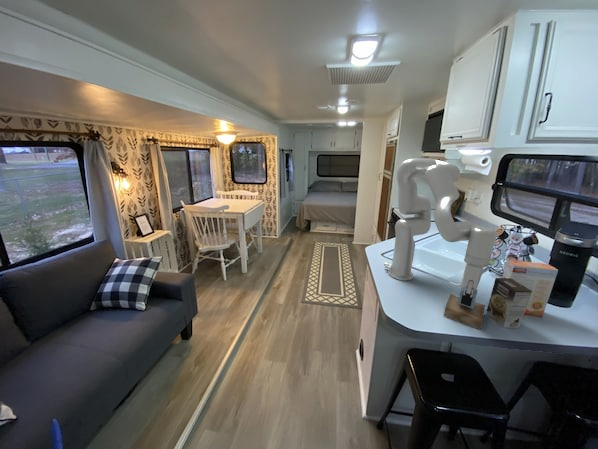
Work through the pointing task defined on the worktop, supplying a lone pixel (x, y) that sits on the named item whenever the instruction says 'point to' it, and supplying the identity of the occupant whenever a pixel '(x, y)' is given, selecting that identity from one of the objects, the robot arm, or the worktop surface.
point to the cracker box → (533, 282)
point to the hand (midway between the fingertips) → (466, 300)
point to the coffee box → (508, 302)
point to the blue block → (472, 298)
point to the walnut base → (464, 312)
